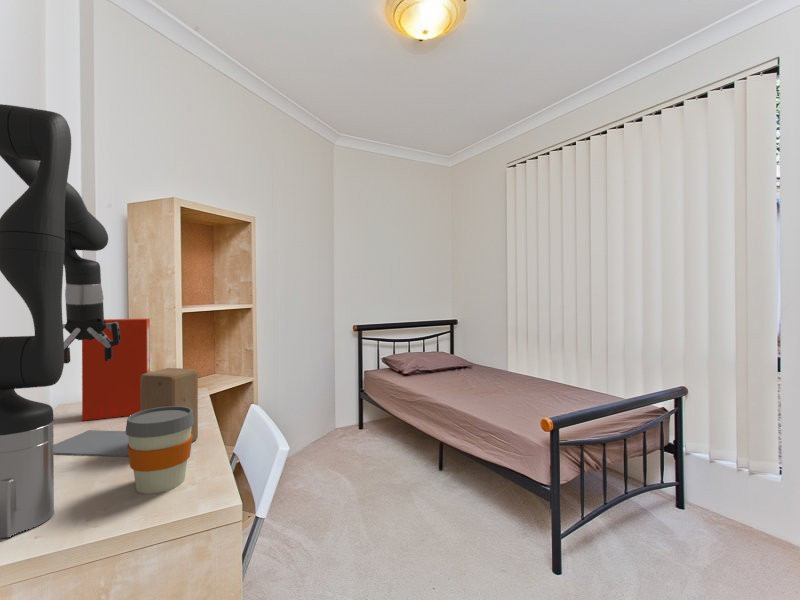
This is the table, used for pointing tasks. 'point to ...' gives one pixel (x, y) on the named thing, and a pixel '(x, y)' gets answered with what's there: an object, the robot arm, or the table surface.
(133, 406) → the file binder
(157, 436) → the reusable coffee cup
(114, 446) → the mat
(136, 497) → the table surface
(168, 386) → the wooden block
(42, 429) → the robot arm
